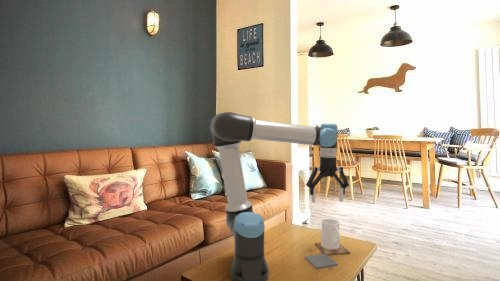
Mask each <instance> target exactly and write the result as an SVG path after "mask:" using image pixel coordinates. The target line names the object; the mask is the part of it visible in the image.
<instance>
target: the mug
mask: <svg viewBox="0 0 500 281" xmlns="http://www.w3.org/2000/svg"><path fill="white" fill-rule="evenodd" d="M340 233H341V232H340V221H339V220H337V219H334V218H325V219H322V220H321V242H320V243H321V246H322V247H323V248H326V249H330V250H335V249H338V248H339V247H340V246H339V243H341V242H340V241H341V234H340Z"/></svg>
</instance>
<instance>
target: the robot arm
mask: <svg viewBox="0 0 500 281" xmlns="http://www.w3.org/2000/svg"><path fill="white" fill-rule="evenodd" d="M338 129H339V128H338V124H336V123H321V124H320V127H318V126H317V127H316V126H312V125H311V126H310V125H301V124H294V123H286V122H285V123H284V122H278V121H269V120H259V119H255V118H254V117H253V116H249V115H244V114H239V113H236V112H231V111H225V112H220V113H217V114H216V115H214V116H213V117H212V118H211V120H210V122H209V132H210V134H211V136H212V141H213V147H214V148H215V149H217V151H218V154H219V160H220V165H221V172H222V177H223V183H224V189H225V194H226V198H227V204H226V206H225V214H226V217H225V222H226V226H227V228H228V229H229V231H230V233H231V235H232V236H233V239H234V258H233V260H232V263H231V267H230V269H229V270H230V271H229V274H230V275H229V276H230V279H231V280H232V281H267V280H268V279H269V276H270V274H269V273H270V270H269V267H268V263H267V260H266V257H265V228H266V227H265V219H264V218H263V217H262V216H261V214H259V213H255V212H254V210H253V203H252V202H251V201H249V200H248V196H247V189H246V184H245V183H246V182H245V178H244V172H243V166H242V165H243V164H242V159H241V155H240V148H239V147H240V144H241V143H242V142H251V141H253V140H259V141H268V142H278V143H287V144H288V143H289V144H299V145H309V146H316V147H317V146H319V147H320V148H319V150H320V152H319V156H320V158H319V167H318V166H317V167H316V166H313V167H312V172H311V174H310V176H309V178H308V180H307V181H306V184H305V185H306V187H307V188H309V195H310V196H311V202H312V203H316V188H315V187H316V186H317V185H318V184H319V182H320V181H321V180H322V179H323V178H325V177H326V178H328V177H329V178H331V177H333V178H334V180H335V181H336V182H337V183H338V185H339V187H338V201H339V202H340V203H343V202H344V195H345V194H346V188H348V187H349V186H350V184H349V182H348V179H347V177H346V175H345V173H344V167H343V166H338V167H337V164H338V132H339V131H338ZM337 172H338V174H339V175H340V177H341V178H340V177H339V176H338V174H337ZM317 174H318V175H317Z"/></svg>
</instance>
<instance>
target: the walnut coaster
mask: <svg viewBox="0 0 500 281" xmlns="http://www.w3.org/2000/svg"><path fill="white" fill-rule="evenodd" d="M314 245H315V246H316V247H317V249H318V250H319V251H320V252H321V254H326V255H327V256H328V257H329V256H338V255H340V256H341V255H349V254H350V253H351V252H350V251H349V249H347V248H346V247H345V246H344V245H343V244H341V242H339V246H340V247H339V248H338V249H335V250H330V249H326V248H323V247H322V246H321V242H315V243H314Z"/></svg>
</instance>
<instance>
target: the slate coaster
mask: <svg viewBox="0 0 500 281" xmlns="http://www.w3.org/2000/svg"><path fill="white" fill-rule="evenodd" d="M304 259H305V260H306V261H307V262H308V263H309V264H310V265H312V266H313V267H314V268H315V269H316V270H319V269H325V268H330V267H336V266H338V265H339V264H338V262H337V261H335V260H333V259H332V257H330V256H329V255H328V256H327V255H326V254H323V253H320V254H319V253H318V254H313V255H308V256H306V255H305V256H304Z"/></svg>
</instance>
